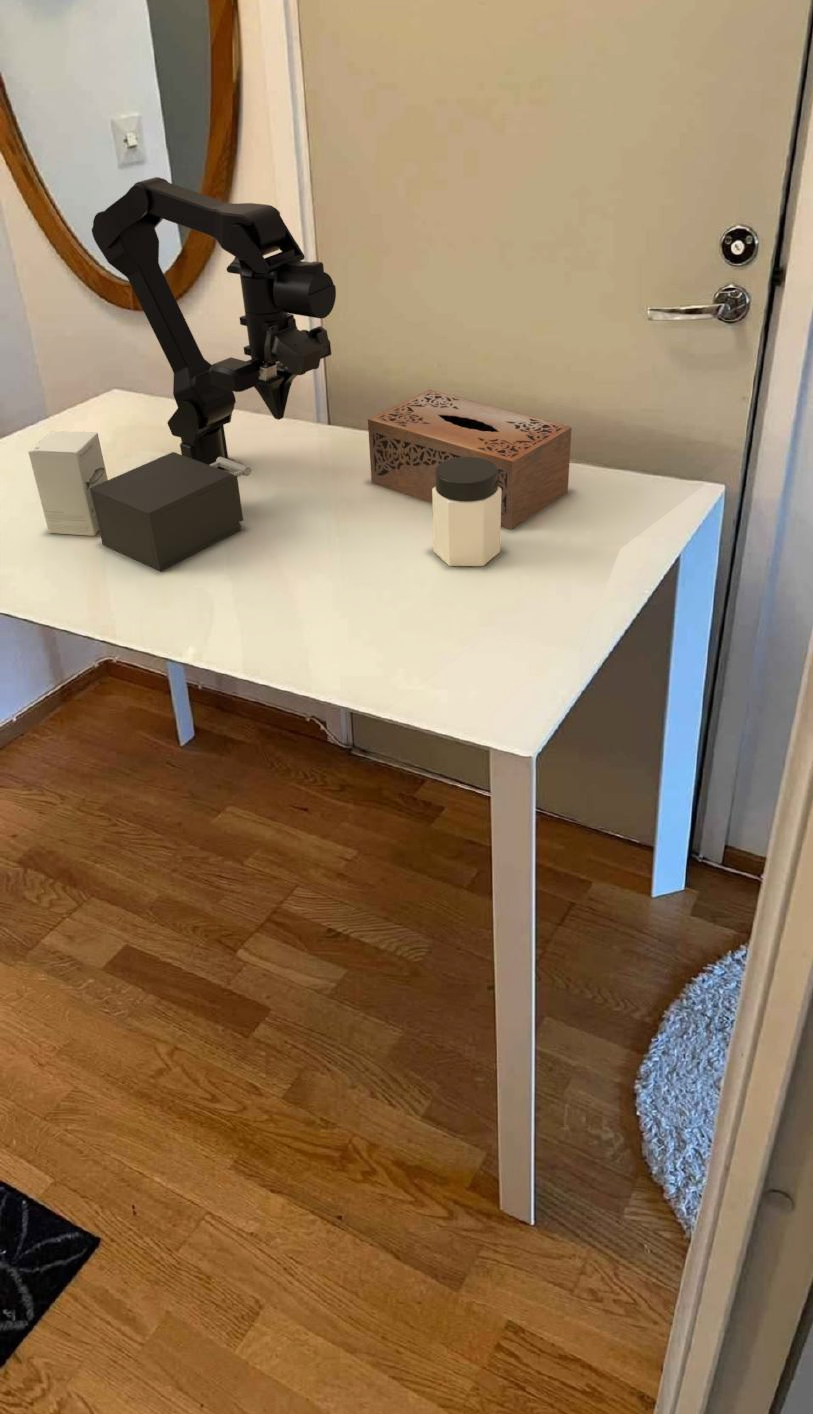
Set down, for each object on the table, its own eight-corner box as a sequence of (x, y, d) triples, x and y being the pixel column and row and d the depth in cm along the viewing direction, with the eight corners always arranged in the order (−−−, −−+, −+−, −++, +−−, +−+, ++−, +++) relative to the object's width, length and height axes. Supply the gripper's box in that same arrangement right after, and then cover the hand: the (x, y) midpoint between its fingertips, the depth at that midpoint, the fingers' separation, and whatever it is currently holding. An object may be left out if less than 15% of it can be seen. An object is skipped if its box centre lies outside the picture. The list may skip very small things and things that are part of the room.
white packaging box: (95, 537, 151) (76, 452, 143) (47, 533, 152) (25, 450, 145) (117, 513, 157) (99, 431, 149) (70, 510, 158) (50, 428, 151)
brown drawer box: (182, 506, 158) (173, 451, 153) (241, 530, 151) (232, 473, 146) (102, 544, 149) (89, 488, 144) (160, 571, 142) (148, 513, 137)
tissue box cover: (567, 492, 157) (571, 427, 151) (510, 529, 148) (512, 462, 142) (431, 450, 171) (429, 389, 165) (371, 482, 162) (367, 419, 156)
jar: (510, 559, 142) (512, 475, 135) (456, 574, 139) (455, 489, 132) (477, 531, 148) (477, 450, 141) (424, 545, 146) (422, 463, 138)
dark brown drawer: (215, 487, 161) (208, 444, 157) (268, 507, 155) (262, 463, 151) (117, 533, 150) (107, 489, 146) (169, 557, 144) (161, 511, 140)
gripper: (256, 337, 136) (271, 453, 145) (355, 300, 147) (362, 410, 156) (198, 322, 142) (216, 435, 151) (297, 288, 153) (308, 394, 162)
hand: (278, 418), depth 155 cm, fingers closed
